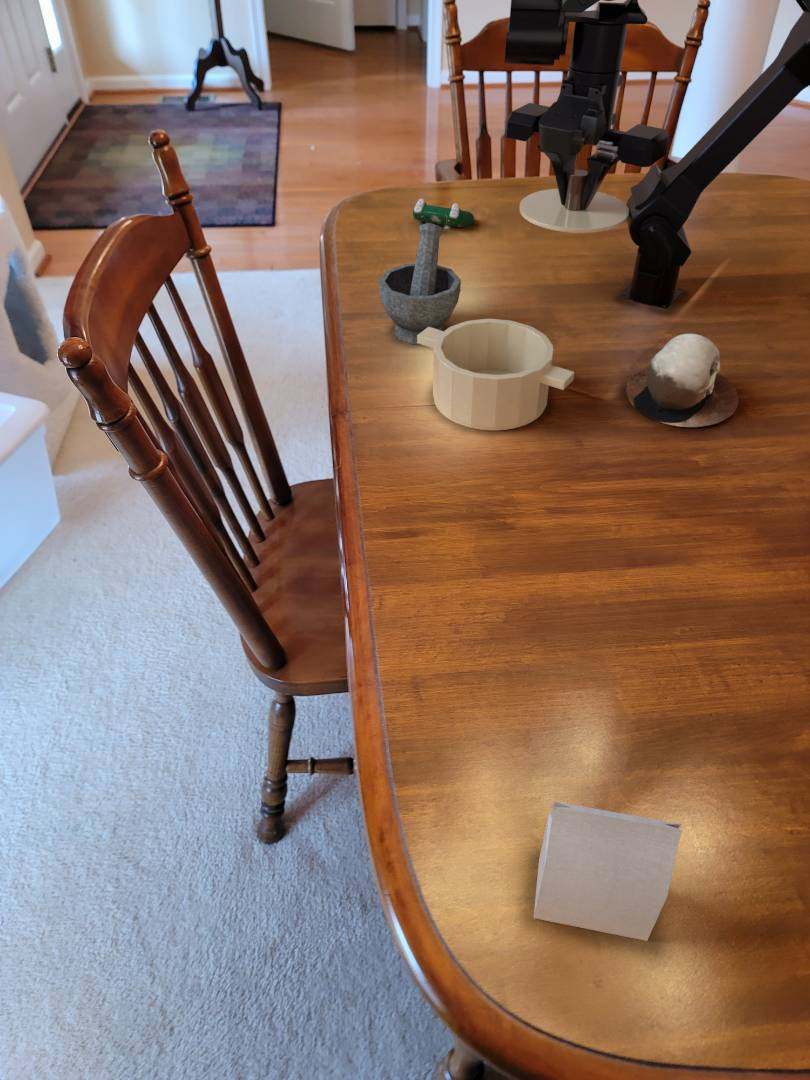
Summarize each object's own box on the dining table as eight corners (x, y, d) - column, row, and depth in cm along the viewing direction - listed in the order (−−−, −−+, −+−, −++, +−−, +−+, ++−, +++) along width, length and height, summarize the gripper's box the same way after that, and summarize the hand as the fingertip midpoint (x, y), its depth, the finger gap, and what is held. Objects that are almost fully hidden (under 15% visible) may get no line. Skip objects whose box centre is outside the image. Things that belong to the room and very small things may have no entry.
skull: (655, 346, 99) (726, 304, 91) (699, 420, 100) (773, 386, 91) (599, 383, 93) (669, 342, 84) (646, 462, 93) (720, 430, 85)
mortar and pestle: (446, 356, 100) (449, 260, 92) (372, 346, 102) (368, 251, 94) (467, 313, 108) (471, 221, 100) (398, 305, 110) (396, 213, 102)
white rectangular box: (647, 940, 50) (683, 860, 43) (533, 918, 51) (551, 836, 44) (646, 881, 52) (680, 797, 46) (538, 861, 53) (556, 776, 47)
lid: (547, 189, 112) (552, 147, 109) (644, 210, 107) (652, 167, 103) (499, 222, 104) (503, 178, 100) (602, 247, 98) (609, 201, 95)
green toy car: (415, 232, 132) (404, 215, 126) (421, 209, 132) (411, 191, 126) (470, 240, 129) (462, 224, 124) (476, 217, 129) (468, 199, 124)
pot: (450, 351, 101) (452, 302, 97) (587, 396, 93) (596, 345, 89) (392, 400, 93) (390, 349, 89) (536, 452, 86) (542, 399, 81)
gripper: (486, 69, 93) (477, 210, 103) (645, 98, 85) (617, 247, 96) (534, 49, 99) (520, 183, 110) (684, 74, 92) (654, 216, 102)
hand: (574, 206), depth 104 cm, fingers closed on lid, 2 cm apart
